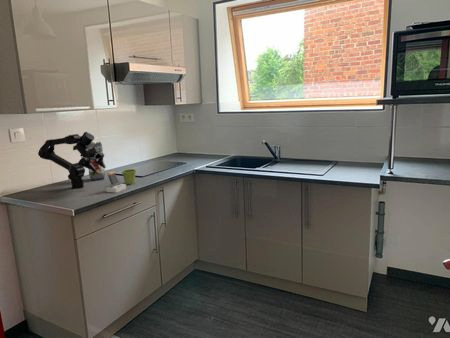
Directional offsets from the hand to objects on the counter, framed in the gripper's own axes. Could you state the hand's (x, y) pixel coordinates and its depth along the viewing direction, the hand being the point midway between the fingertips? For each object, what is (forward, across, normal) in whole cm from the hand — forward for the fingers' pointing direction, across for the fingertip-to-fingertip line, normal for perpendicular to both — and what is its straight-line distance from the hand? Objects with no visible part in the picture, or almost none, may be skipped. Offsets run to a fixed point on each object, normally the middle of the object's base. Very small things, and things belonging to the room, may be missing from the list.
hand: (100, 169), depth 213 cm
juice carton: (-5, +23, +24) cm, 34 cm away
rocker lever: (+14, 0, -1) cm, 14 cm away
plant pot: (+16, +16, +2) cm, 22 cm away
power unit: (+16, 0, +1) cm, 16 cm away
